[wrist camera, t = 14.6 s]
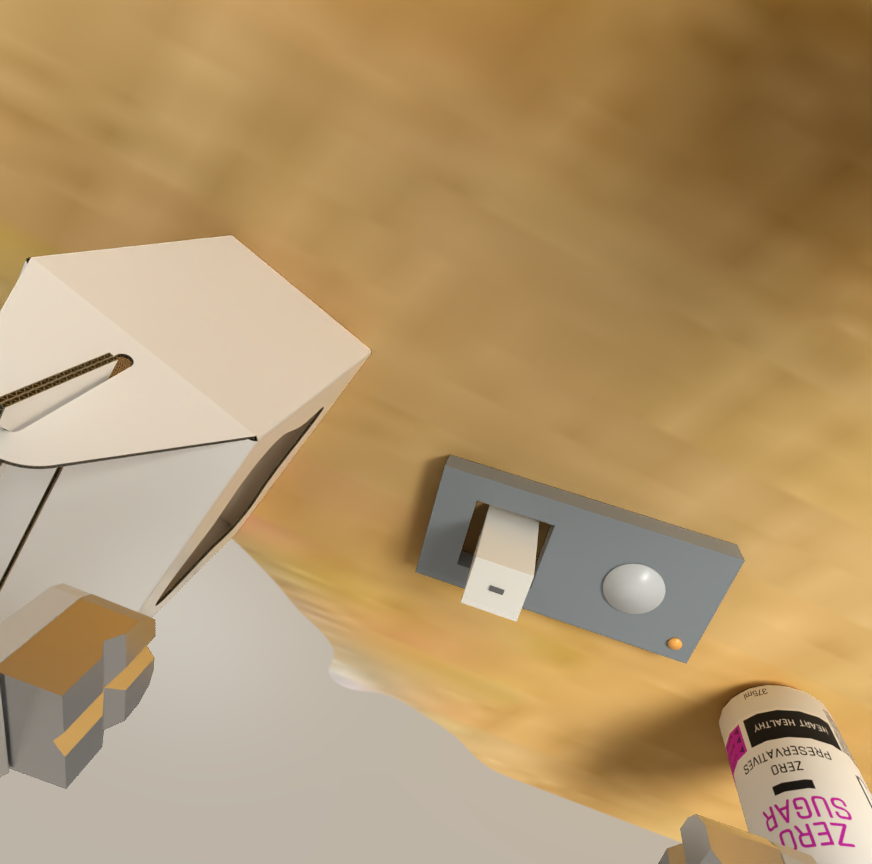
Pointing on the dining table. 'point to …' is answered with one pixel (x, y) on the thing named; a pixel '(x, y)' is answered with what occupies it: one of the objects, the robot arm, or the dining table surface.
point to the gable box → (150, 412)
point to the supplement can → (797, 775)
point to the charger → (502, 563)
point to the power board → (590, 560)
